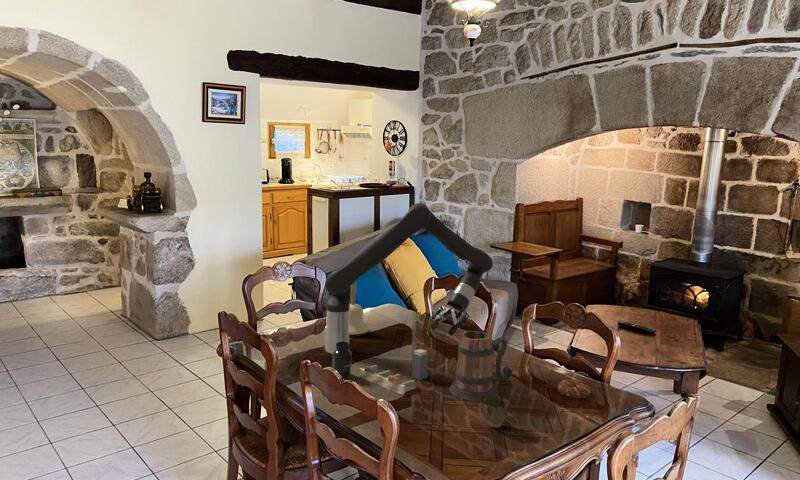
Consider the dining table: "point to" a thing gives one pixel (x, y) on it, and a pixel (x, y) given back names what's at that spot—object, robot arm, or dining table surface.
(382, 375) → the dock
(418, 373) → the grey tall block
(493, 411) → the cup
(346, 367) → the supplement bottle
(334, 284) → the robot arm
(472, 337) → the tankard
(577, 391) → the bread roll
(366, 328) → the handbell
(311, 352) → the dining table surface
